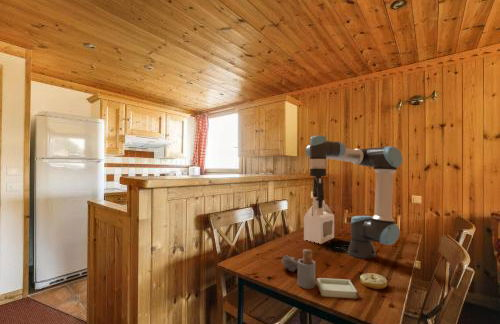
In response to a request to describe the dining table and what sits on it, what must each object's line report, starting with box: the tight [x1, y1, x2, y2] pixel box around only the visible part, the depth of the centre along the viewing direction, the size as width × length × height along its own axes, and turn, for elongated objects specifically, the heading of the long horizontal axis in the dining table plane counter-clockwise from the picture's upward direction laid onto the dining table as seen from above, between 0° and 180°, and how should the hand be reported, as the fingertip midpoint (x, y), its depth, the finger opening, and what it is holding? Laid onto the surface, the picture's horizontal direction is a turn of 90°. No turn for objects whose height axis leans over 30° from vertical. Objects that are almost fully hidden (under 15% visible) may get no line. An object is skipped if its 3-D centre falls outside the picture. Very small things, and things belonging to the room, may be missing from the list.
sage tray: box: [316, 277, 359, 299], centre depth 103 cm, size 14×11×2 cm
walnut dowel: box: [302, 248, 313, 264], centre depth 109 cm, size 5×4×14 cm
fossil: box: [281, 254, 298, 272], centre depth 123 cm, size 11×9×8 cm
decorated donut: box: [359, 272, 388, 290], centre depth 109 cm, size 10×11×4 cm
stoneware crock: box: [296, 258, 316, 289], centre depth 109 cm, size 8×8×10 cm
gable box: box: [303, 199, 335, 245], centre depth 180 cm, size 22×13×28 cm, turn 137°
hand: (317, 212), depth 117 cm, fingers open, 13 cm apart
